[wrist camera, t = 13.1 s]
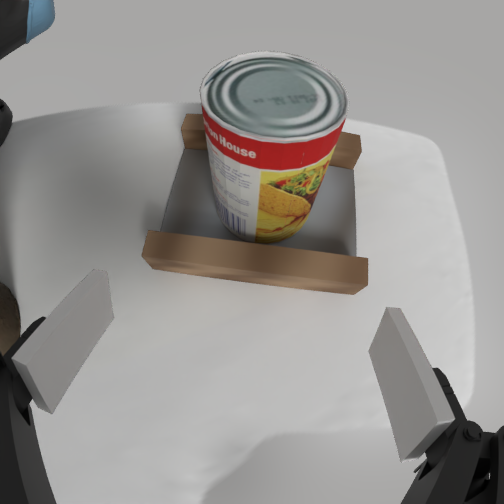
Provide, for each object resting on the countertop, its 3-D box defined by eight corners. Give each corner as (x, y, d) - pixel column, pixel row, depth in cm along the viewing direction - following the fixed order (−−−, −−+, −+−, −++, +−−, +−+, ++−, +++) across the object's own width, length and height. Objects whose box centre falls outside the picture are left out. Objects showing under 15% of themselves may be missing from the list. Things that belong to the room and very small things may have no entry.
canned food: (326, 197, 26) (372, 91, 14) (271, 264, 23) (296, 168, 12) (255, 150, 27) (262, 39, 16) (196, 207, 25) (168, 94, 14)
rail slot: (152, 268, 23) (141, 255, 21) (190, 134, 28) (186, 113, 26) (353, 294, 23) (368, 285, 20) (351, 154, 28) (359, 135, 25)
